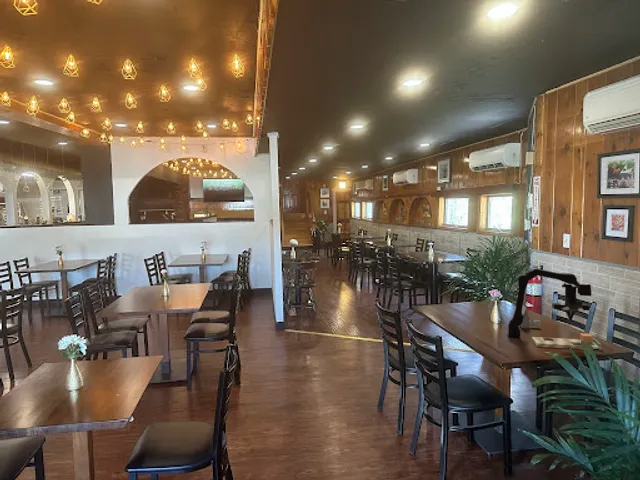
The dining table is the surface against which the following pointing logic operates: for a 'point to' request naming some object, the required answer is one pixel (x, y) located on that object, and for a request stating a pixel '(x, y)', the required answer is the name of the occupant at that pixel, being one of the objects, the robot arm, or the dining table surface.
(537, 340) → the trap board
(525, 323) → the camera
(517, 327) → the robot arm
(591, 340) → the orange block
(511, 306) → the dining table surface
